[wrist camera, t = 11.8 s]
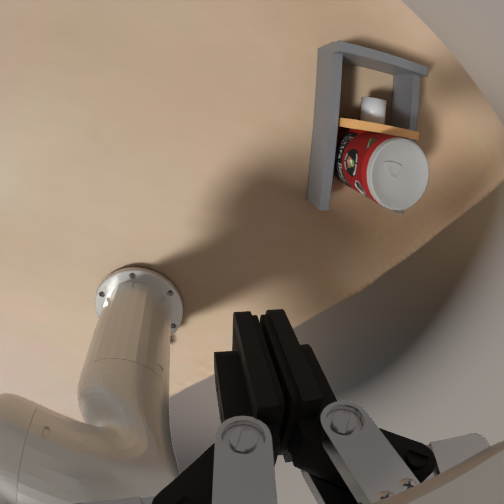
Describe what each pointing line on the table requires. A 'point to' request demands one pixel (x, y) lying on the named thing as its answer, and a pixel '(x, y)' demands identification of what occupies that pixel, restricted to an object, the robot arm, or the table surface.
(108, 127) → the table surface
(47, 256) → the table surface
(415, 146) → the canned food
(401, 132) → the pusher
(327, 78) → the frame
